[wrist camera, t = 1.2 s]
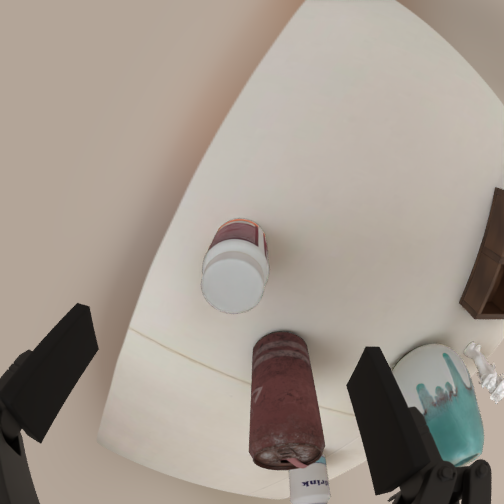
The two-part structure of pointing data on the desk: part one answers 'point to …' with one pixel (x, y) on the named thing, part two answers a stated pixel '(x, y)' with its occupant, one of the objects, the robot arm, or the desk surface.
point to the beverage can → (310, 484)
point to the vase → (443, 400)
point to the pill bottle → (236, 267)
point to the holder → (488, 268)
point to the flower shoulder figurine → (486, 372)
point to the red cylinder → (284, 405)
